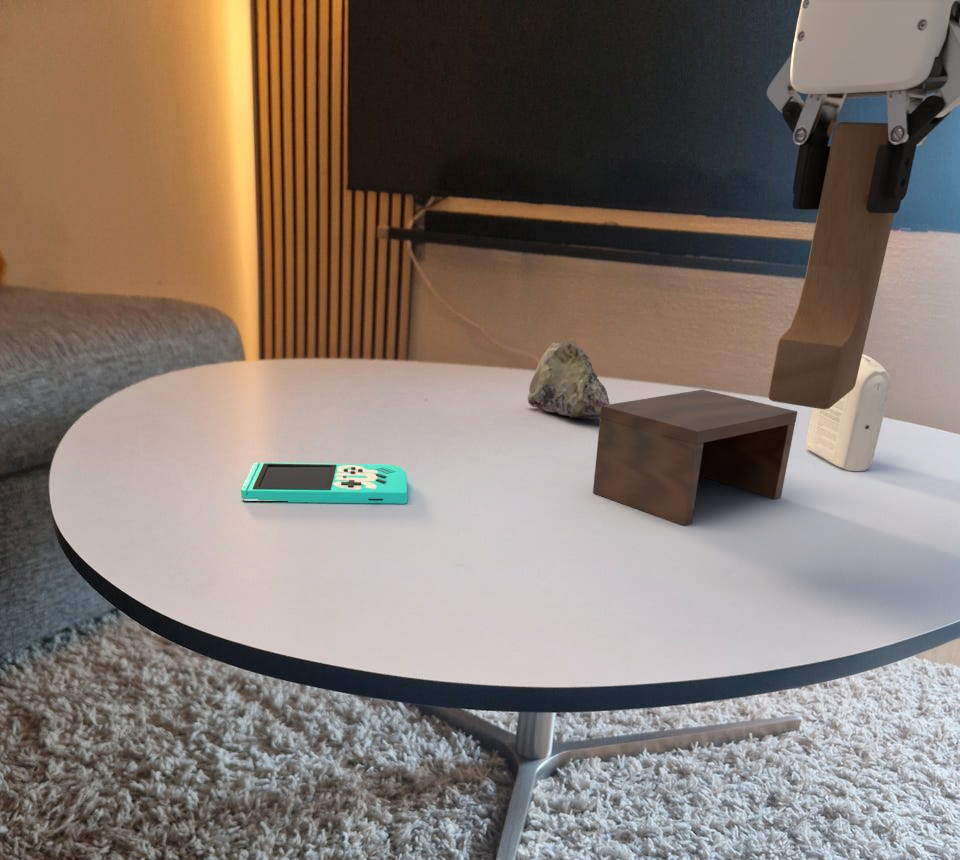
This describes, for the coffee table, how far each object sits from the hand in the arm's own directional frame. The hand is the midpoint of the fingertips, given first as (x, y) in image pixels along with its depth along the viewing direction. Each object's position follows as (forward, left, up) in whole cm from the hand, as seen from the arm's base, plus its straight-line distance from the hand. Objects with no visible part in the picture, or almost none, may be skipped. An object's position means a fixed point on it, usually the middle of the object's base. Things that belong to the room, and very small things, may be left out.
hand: (844, 207), depth 64 cm
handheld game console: (+41, +18, -28) cm, 53 cm away
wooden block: (0, 0, -13) cm, 13 cm away
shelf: (+19, -12, -28) cm, 36 cm away
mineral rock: (+51, -26, -28) cm, 64 cm away
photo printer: (+18, -39, -28) cm, 52 cm away
